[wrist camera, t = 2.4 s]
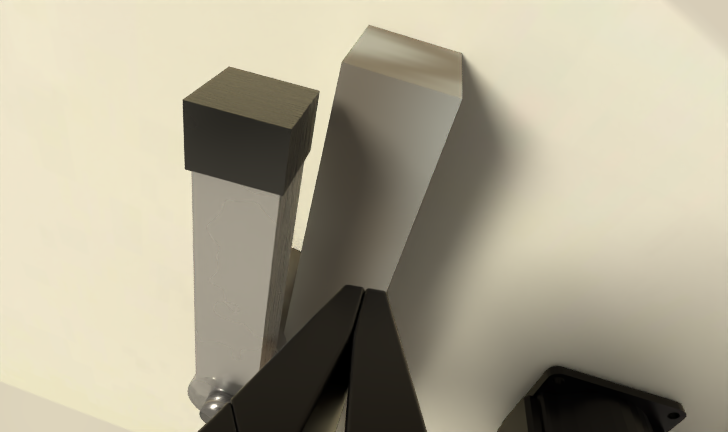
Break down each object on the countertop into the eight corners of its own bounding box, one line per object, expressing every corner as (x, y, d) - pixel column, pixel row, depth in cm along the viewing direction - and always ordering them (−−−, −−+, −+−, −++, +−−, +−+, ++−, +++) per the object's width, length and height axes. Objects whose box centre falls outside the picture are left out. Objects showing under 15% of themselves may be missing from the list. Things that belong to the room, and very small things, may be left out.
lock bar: (279, 381, 17) (254, 450, 15) (214, 362, 18) (179, 428, 15) (327, 93, 11) (293, 142, 8) (220, 64, 11) (159, 106, 8)
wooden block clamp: (461, 53, 14) (463, 144, 9) (327, 419, 27) (294, 544, 22) (300, 4, 14) (205, 65, 9) (243, 393, 27) (190, 513, 22)
